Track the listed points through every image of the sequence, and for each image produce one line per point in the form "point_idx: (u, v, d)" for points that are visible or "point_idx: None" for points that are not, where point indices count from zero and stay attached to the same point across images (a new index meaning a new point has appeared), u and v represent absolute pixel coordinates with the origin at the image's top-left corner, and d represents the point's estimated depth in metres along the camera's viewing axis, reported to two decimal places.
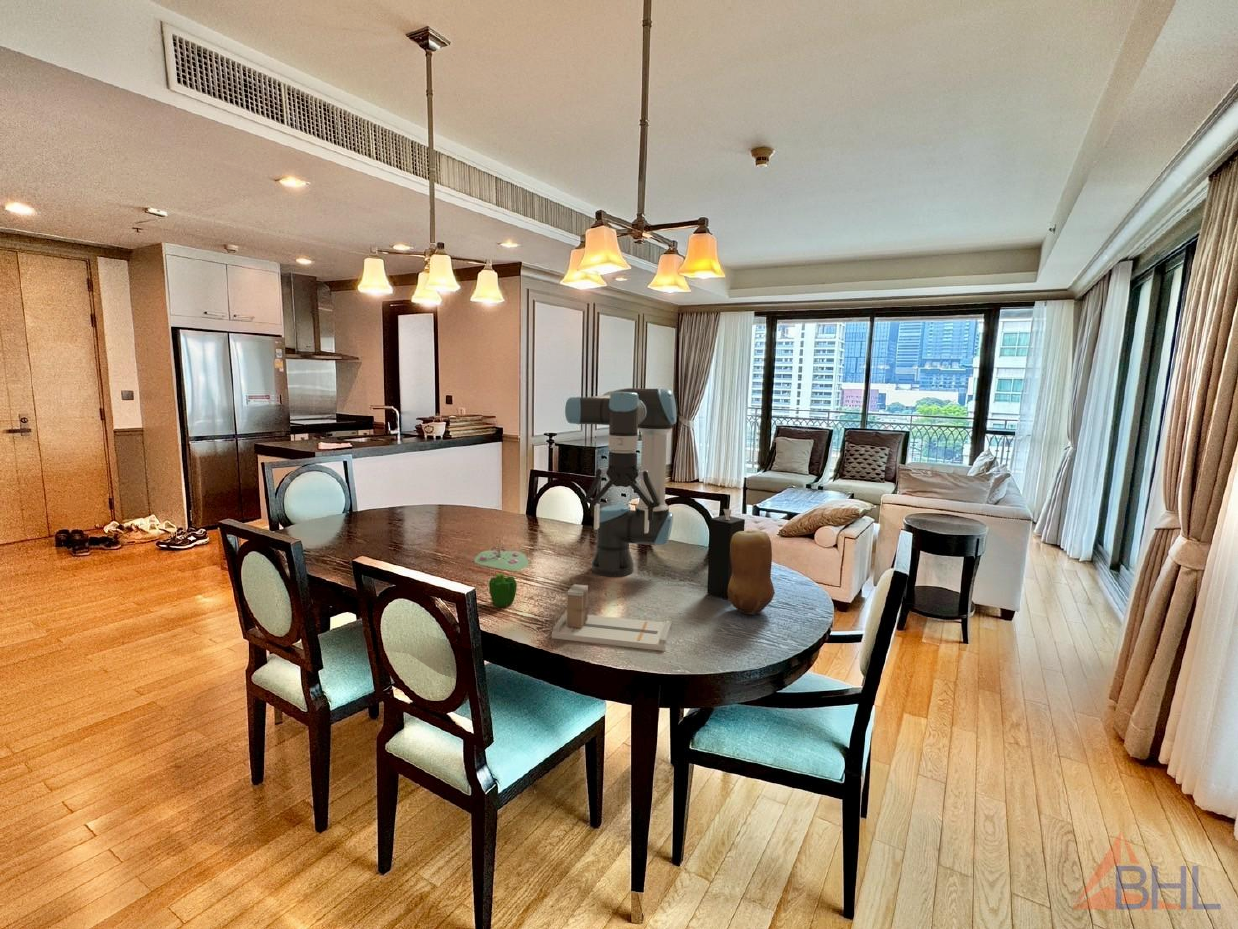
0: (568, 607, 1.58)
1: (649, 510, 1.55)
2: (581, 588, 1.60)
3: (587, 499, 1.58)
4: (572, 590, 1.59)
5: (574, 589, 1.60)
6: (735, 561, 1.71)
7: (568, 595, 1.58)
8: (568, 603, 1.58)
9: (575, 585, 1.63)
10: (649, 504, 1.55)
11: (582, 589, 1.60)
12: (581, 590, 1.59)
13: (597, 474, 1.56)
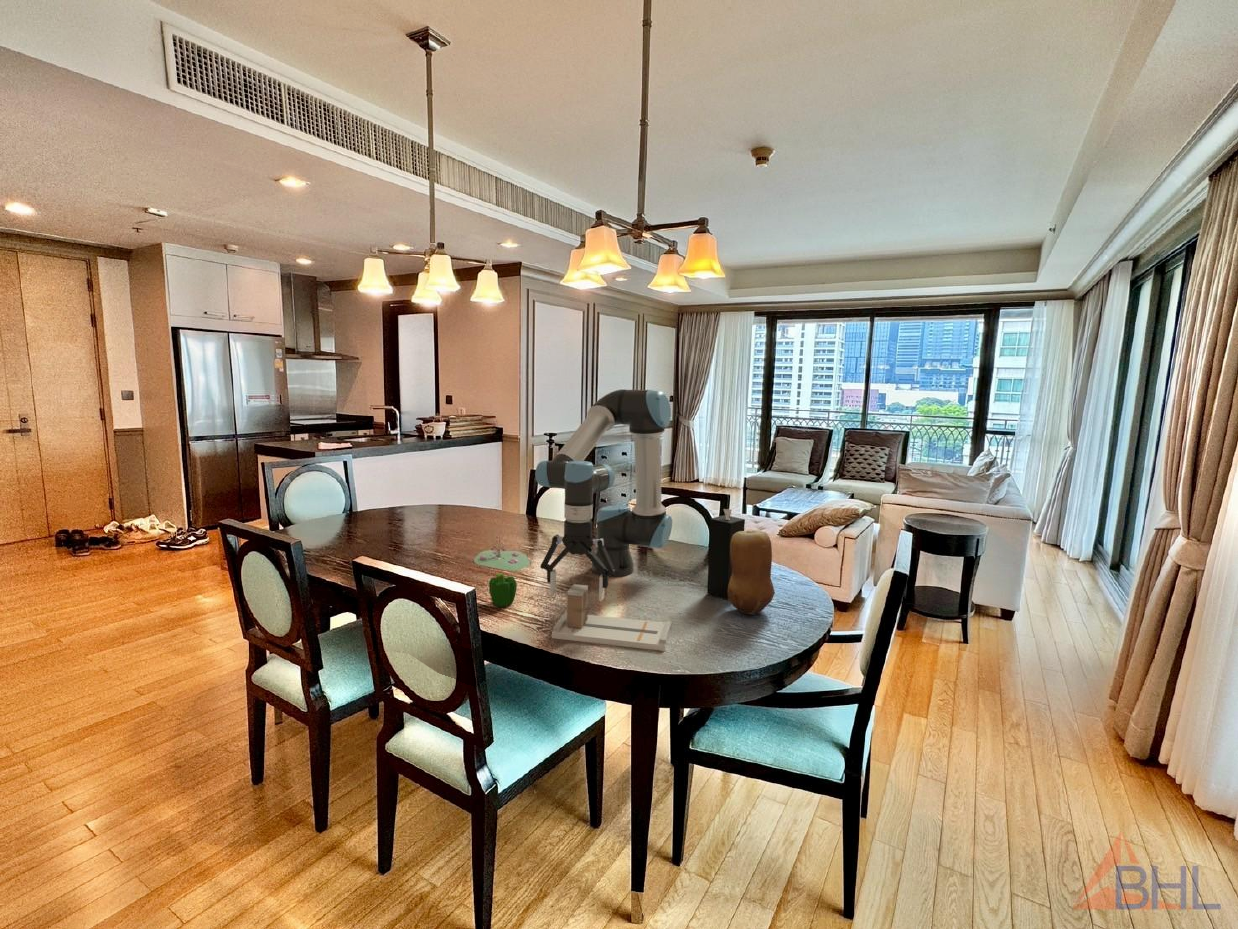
0: (568, 607, 1.58)
1: (604, 578, 1.57)
2: (581, 588, 1.60)
3: (543, 566, 1.60)
4: (572, 590, 1.59)
5: (574, 589, 1.60)
6: (735, 561, 1.71)
7: (568, 595, 1.58)
8: (568, 603, 1.58)
9: (575, 585, 1.63)
10: (603, 572, 1.57)
11: (582, 589, 1.60)
12: (581, 590, 1.59)
13: (553, 542, 1.59)
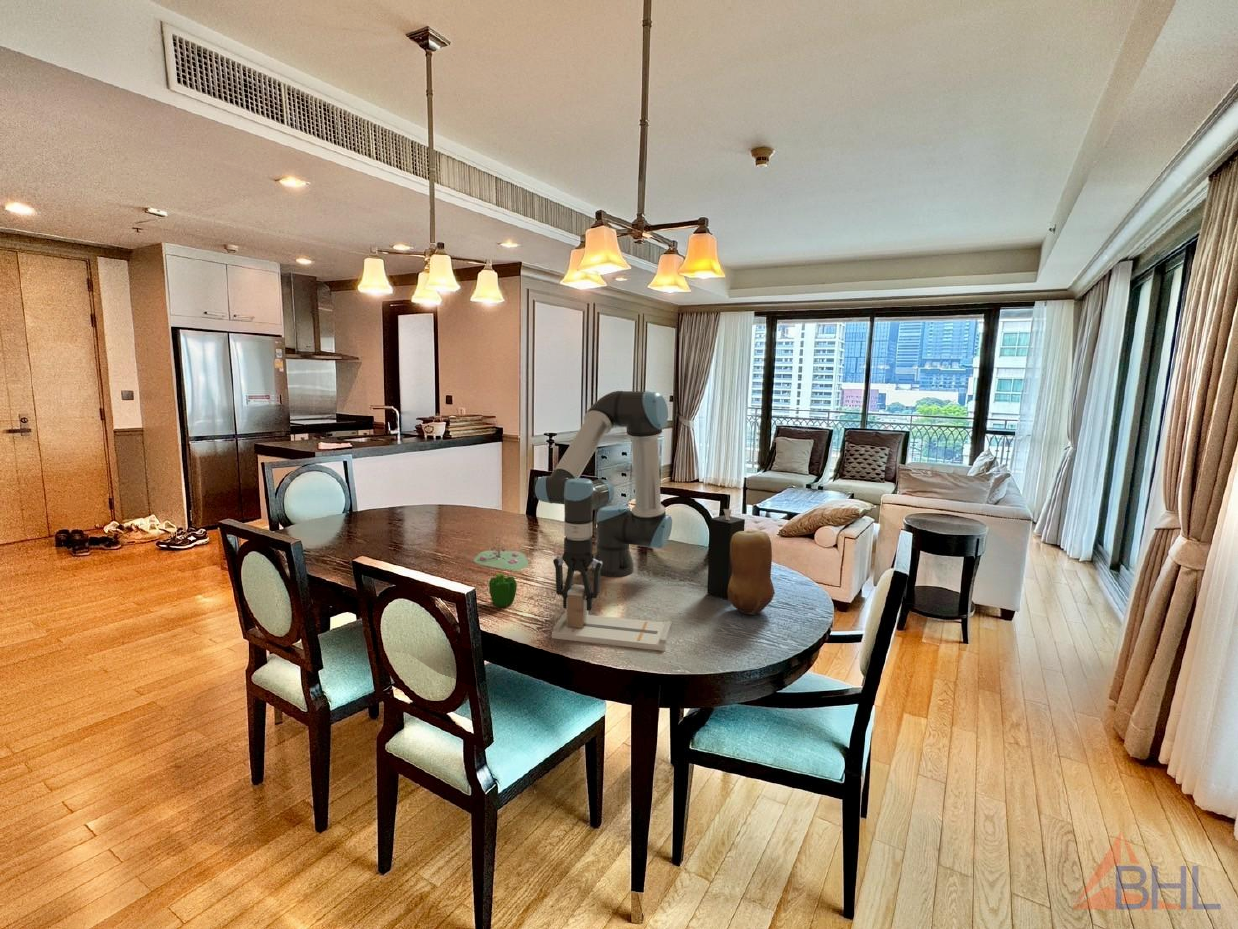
0: (568, 607, 1.58)
1: (588, 601, 1.60)
2: (581, 588, 1.60)
3: (559, 591, 1.60)
4: (572, 590, 1.59)
5: (574, 589, 1.60)
6: (735, 561, 1.71)
7: (568, 595, 1.58)
8: (568, 603, 1.58)
9: (575, 585, 1.63)
10: (588, 595, 1.59)
11: (582, 589, 1.60)
12: (581, 590, 1.59)
13: (555, 564, 1.59)
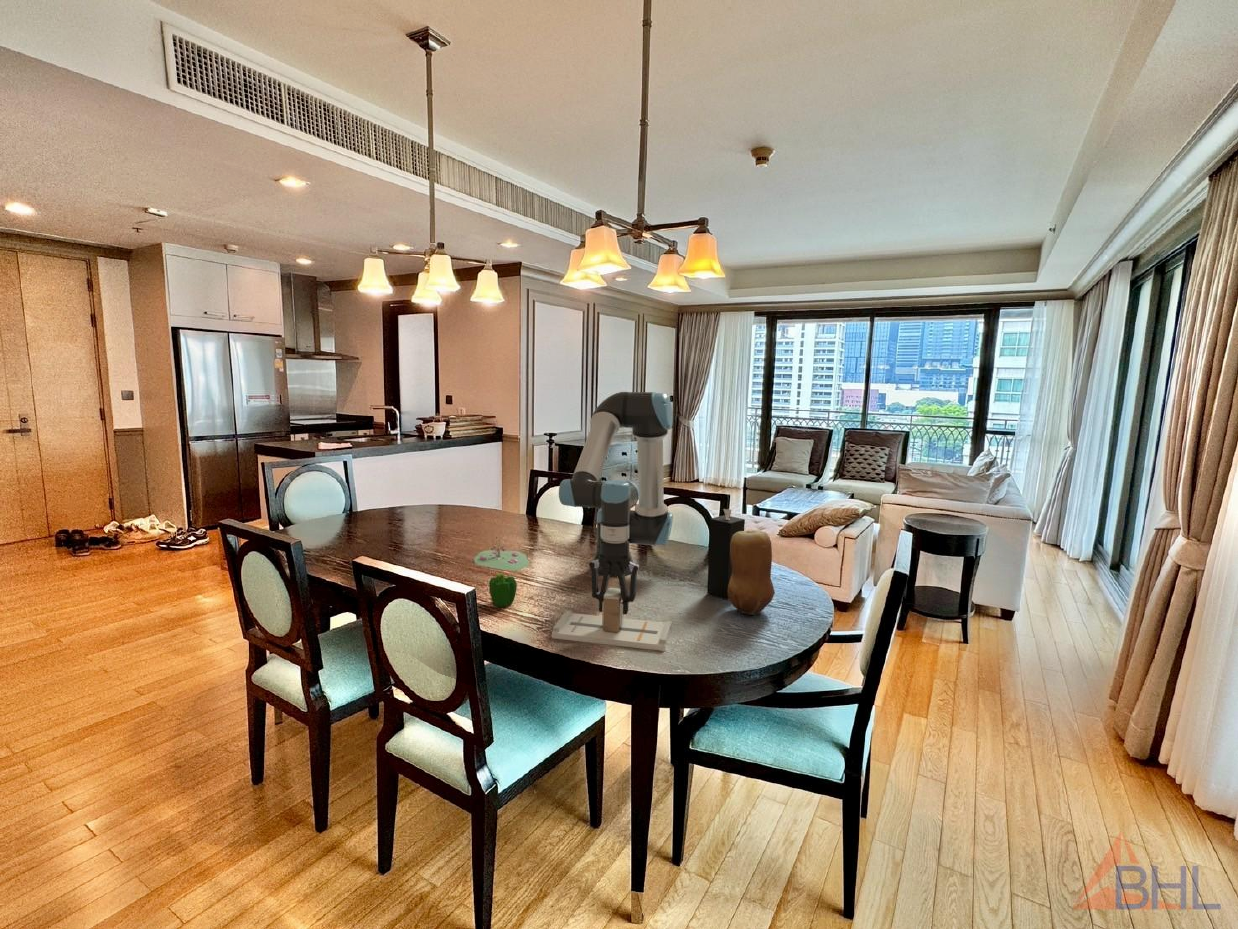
0: (604, 611, 1.56)
1: None
2: (617, 591, 1.58)
3: (595, 594, 1.58)
4: (608, 593, 1.57)
5: (610, 592, 1.58)
6: (735, 561, 1.71)
7: (604, 599, 1.56)
8: (604, 607, 1.56)
9: (610, 588, 1.61)
10: (625, 599, 1.57)
11: (618, 592, 1.58)
12: (617, 593, 1.57)
13: (591, 568, 1.57)
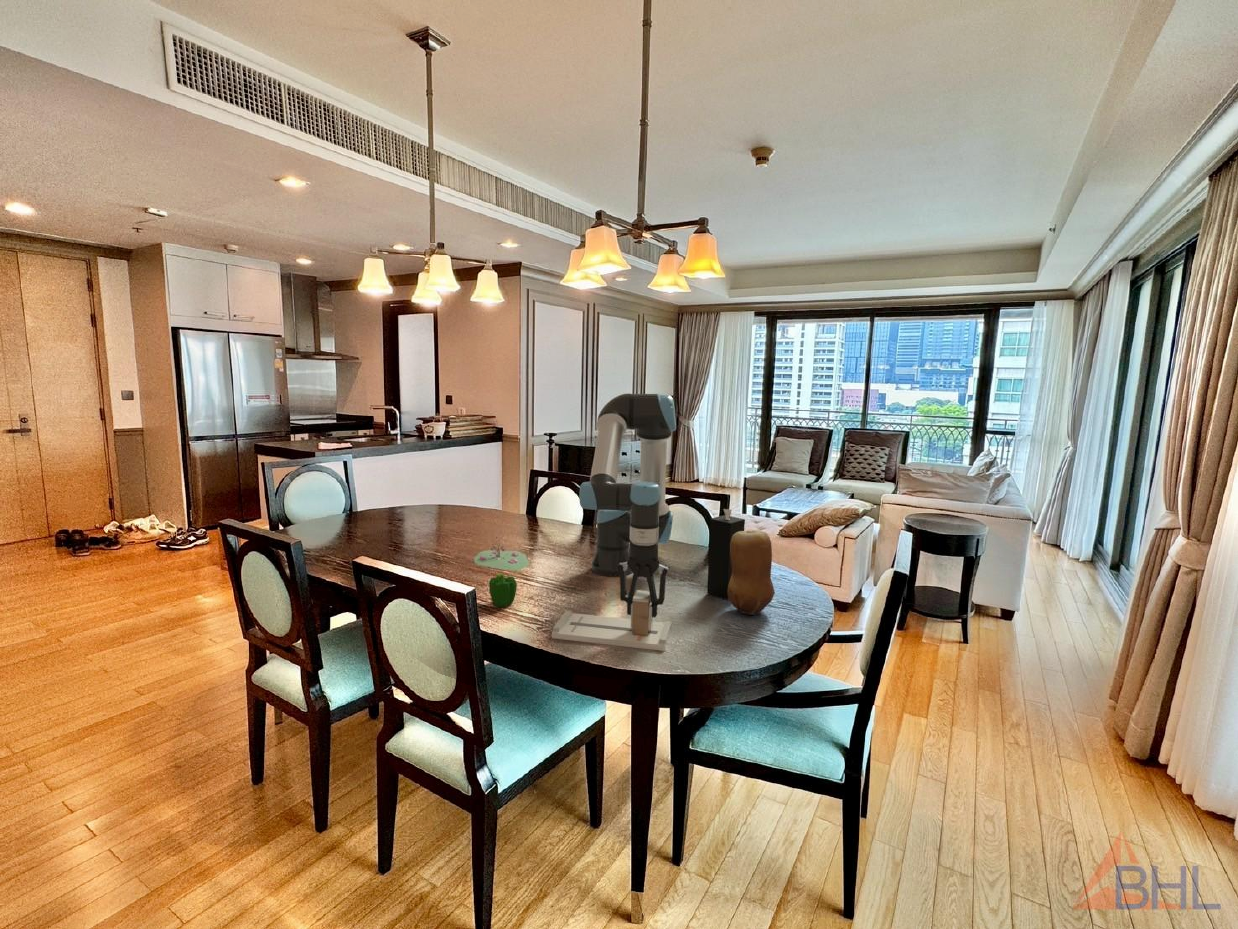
0: (633, 614, 1.55)
1: (653, 607, 1.56)
2: (646, 594, 1.57)
3: (623, 597, 1.57)
4: (637, 596, 1.55)
5: (639, 595, 1.56)
6: (735, 561, 1.71)
7: (633, 601, 1.54)
8: (633, 610, 1.55)
9: (639, 591, 1.59)
10: (654, 602, 1.55)
11: (647, 595, 1.56)
12: (646, 596, 1.55)
13: (620, 570, 1.56)
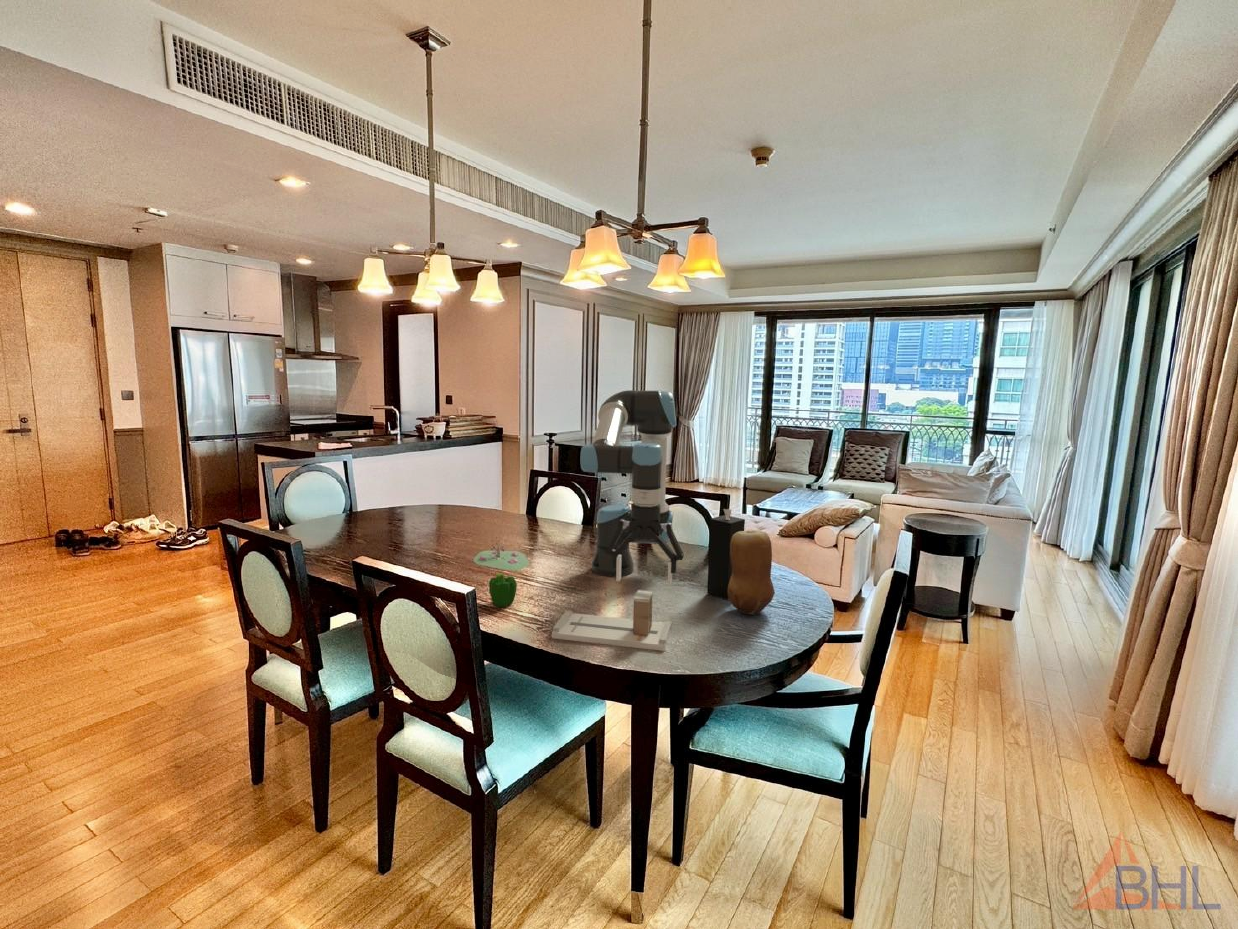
0: (634, 614, 1.55)
1: (672, 563, 1.53)
2: (647, 594, 1.57)
3: (609, 551, 1.56)
4: (638, 596, 1.55)
5: (640, 595, 1.56)
6: (735, 561, 1.71)
7: (634, 601, 1.54)
8: (634, 610, 1.55)
9: (640, 591, 1.59)
10: (672, 557, 1.53)
11: (648, 595, 1.56)
12: (647, 596, 1.55)
13: (619, 526, 1.54)
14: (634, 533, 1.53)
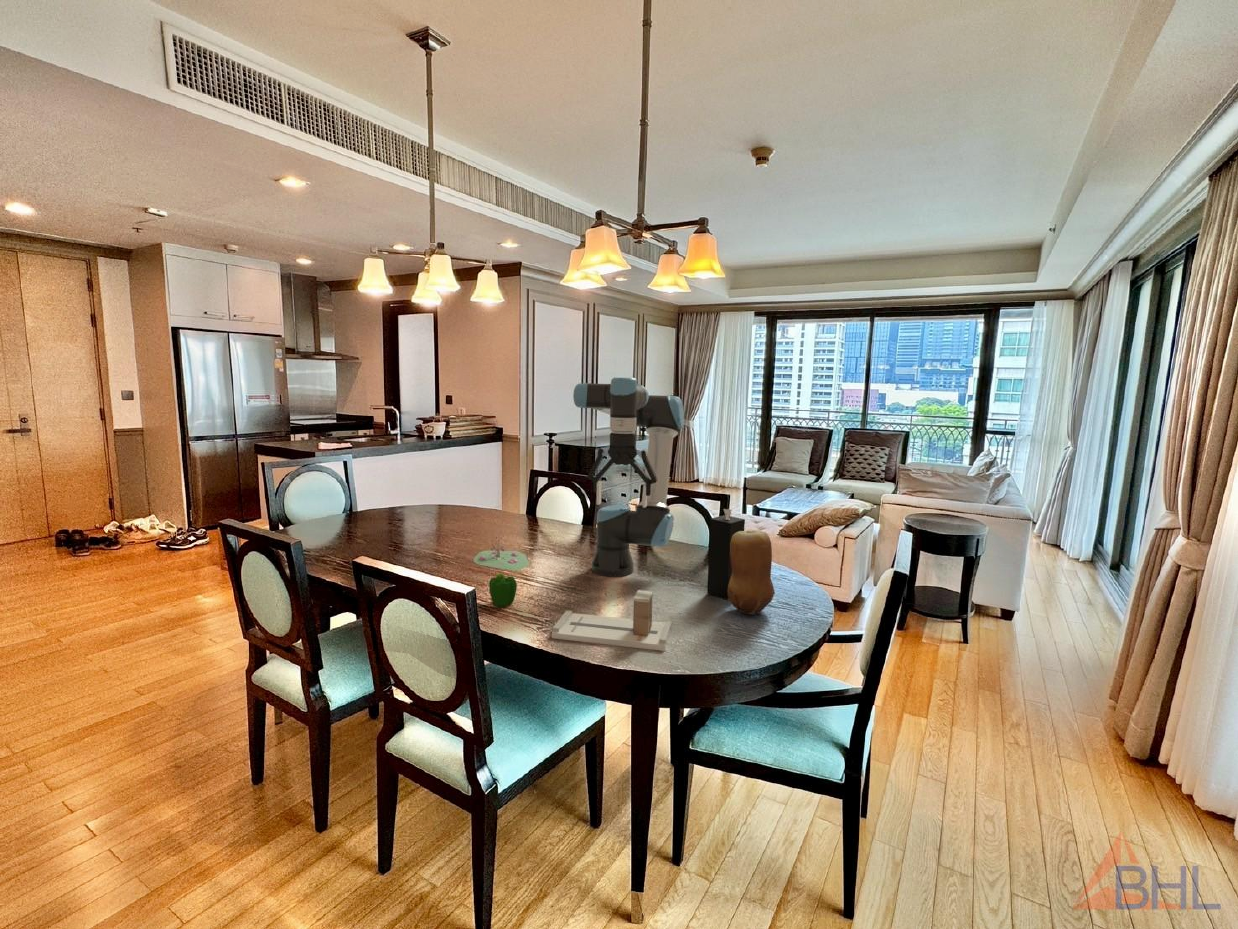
0: (634, 614, 1.55)
1: (647, 486, 1.69)
2: (647, 594, 1.57)
3: (590, 476, 1.72)
4: (638, 596, 1.55)
5: (640, 595, 1.56)
6: (735, 561, 1.71)
7: (634, 601, 1.54)
8: (634, 610, 1.55)
9: (640, 591, 1.59)
10: (647, 480, 1.68)
11: (648, 595, 1.56)
12: (647, 596, 1.55)
13: (599, 453, 1.70)
14: (612, 459, 1.69)
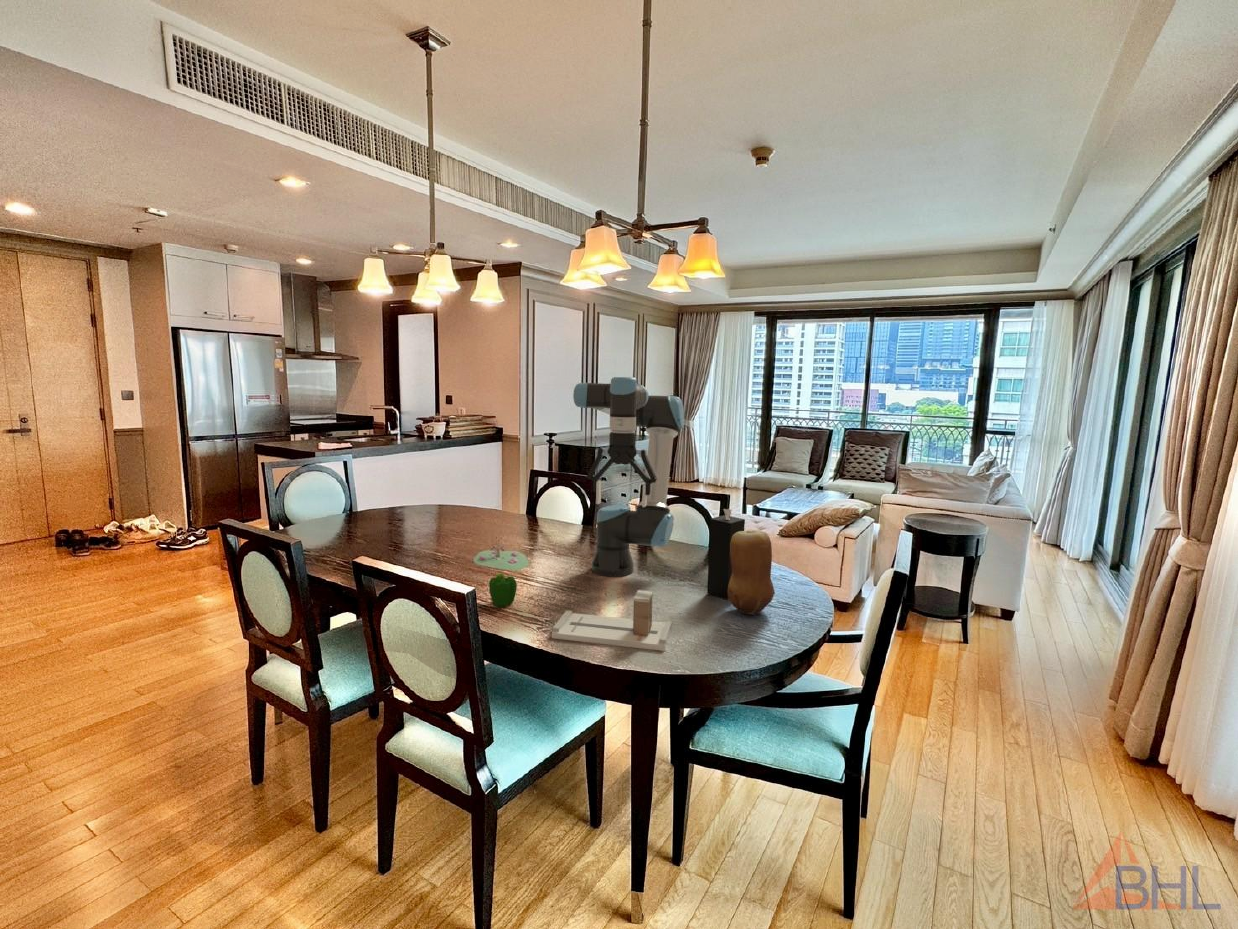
0: (634, 614, 1.55)
1: (647, 486, 1.69)
2: (647, 594, 1.57)
3: (590, 476, 1.72)
4: (638, 596, 1.55)
5: (640, 595, 1.56)
6: (735, 561, 1.71)
7: (634, 601, 1.54)
8: (634, 610, 1.55)
9: (640, 591, 1.59)
10: (646, 480, 1.68)
11: (648, 595, 1.56)
12: (647, 596, 1.55)
13: (599, 453, 1.70)
14: (612, 458, 1.69)
